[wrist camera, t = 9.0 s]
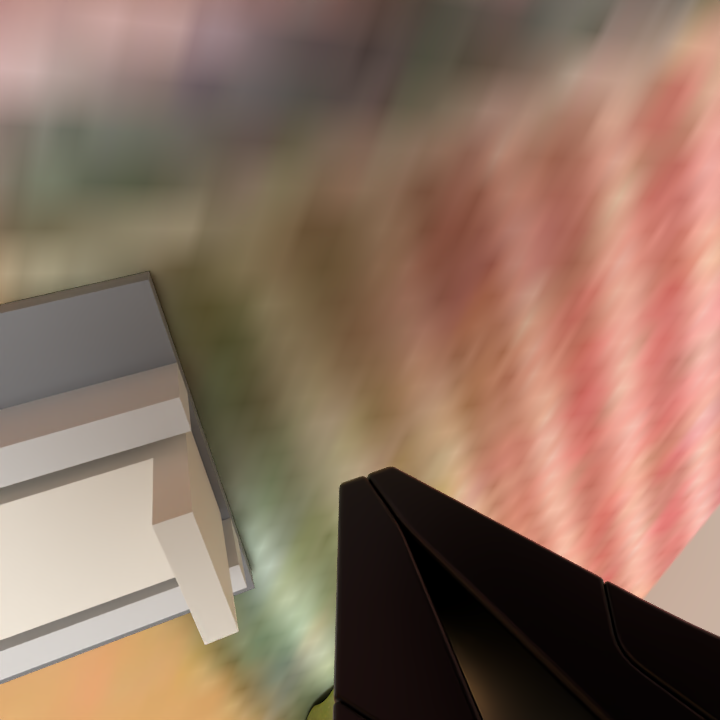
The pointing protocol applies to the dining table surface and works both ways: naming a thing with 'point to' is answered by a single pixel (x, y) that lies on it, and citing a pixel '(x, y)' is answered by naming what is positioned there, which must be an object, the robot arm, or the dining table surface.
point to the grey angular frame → (96, 433)
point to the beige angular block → (115, 538)
